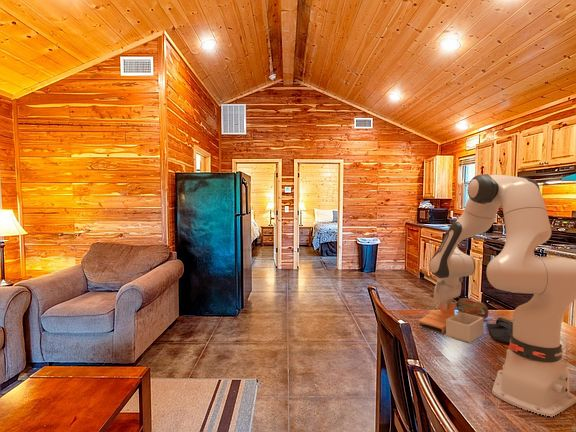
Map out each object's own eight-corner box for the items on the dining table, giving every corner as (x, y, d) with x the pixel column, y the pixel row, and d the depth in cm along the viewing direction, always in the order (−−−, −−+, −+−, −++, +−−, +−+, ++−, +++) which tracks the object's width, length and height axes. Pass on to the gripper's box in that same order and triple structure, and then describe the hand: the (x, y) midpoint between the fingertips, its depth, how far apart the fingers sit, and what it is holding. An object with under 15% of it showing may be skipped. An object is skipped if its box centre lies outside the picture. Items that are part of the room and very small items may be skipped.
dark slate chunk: (486, 342, 126) (486, 330, 125) (486, 324, 144) (486, 314, 144) (534, 351, 117) (534, 338, 117) (528, 331, 136) (528, 320, 136)
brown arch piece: (455, 312, 159) (456, 296, 159) (460, 311, 160) (460, 295, 160) (485, 322, 145) (485, 304, 145) (489, 321, 147) (489, 303, 146)
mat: (443, 335, 131) (443, 334, 131) (416, 327, 140) (416, 326, 140) (459, 326, 141) (459, 325, 141) (434, 318, 150) (434, 318, 150)
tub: (469, 343, 123) (469, 325, 123) (446, 336, 130) (446, 319, 130) (483, 334, 132) (483, 317, 132) (460, 327, 139) (460, 312, 139)
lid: (442, 332, 132) (442, 317, 131) (418, 325, 140) (418, 311, 139) (460, 319, 142) (459, 305, 142) (436, 313, 151) (436, 300, 150)
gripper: (444, 284, 136) (443, 315, 137) (464, 277, 149) (463, 306, 149) (429, 281, 141) (429, 311, 142) (450, 275, 154) (450, 303, 154)
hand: (447, 308), depth 146 cm, fingers closed
